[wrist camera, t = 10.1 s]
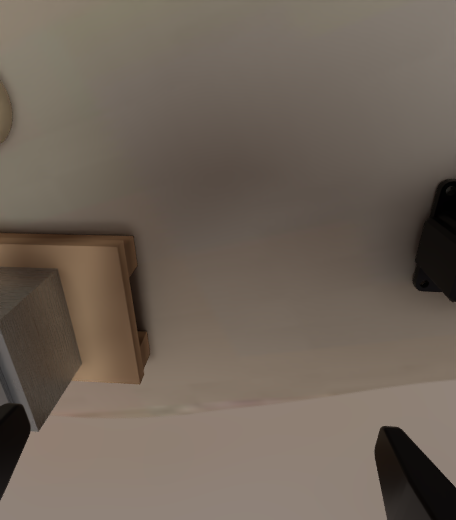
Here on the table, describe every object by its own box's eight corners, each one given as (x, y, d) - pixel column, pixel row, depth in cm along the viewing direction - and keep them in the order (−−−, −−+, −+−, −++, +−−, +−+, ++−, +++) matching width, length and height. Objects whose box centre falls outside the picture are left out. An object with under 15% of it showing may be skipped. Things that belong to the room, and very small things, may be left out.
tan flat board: (132, 229, 21) (117, 247, 18) (150, 358, 25) (140, 384, 23) (-55, 225, 22) (-91, 241, 19) (-6, 350, 26) (-31, 374, 24)
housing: (82, 363, 22) (35, 436, 18) (15, 359, 23) (-49, 431, 18) (57, 268, 19) (-8, 326, 15) (-20, 265, 20) (-108, 322, 15)
